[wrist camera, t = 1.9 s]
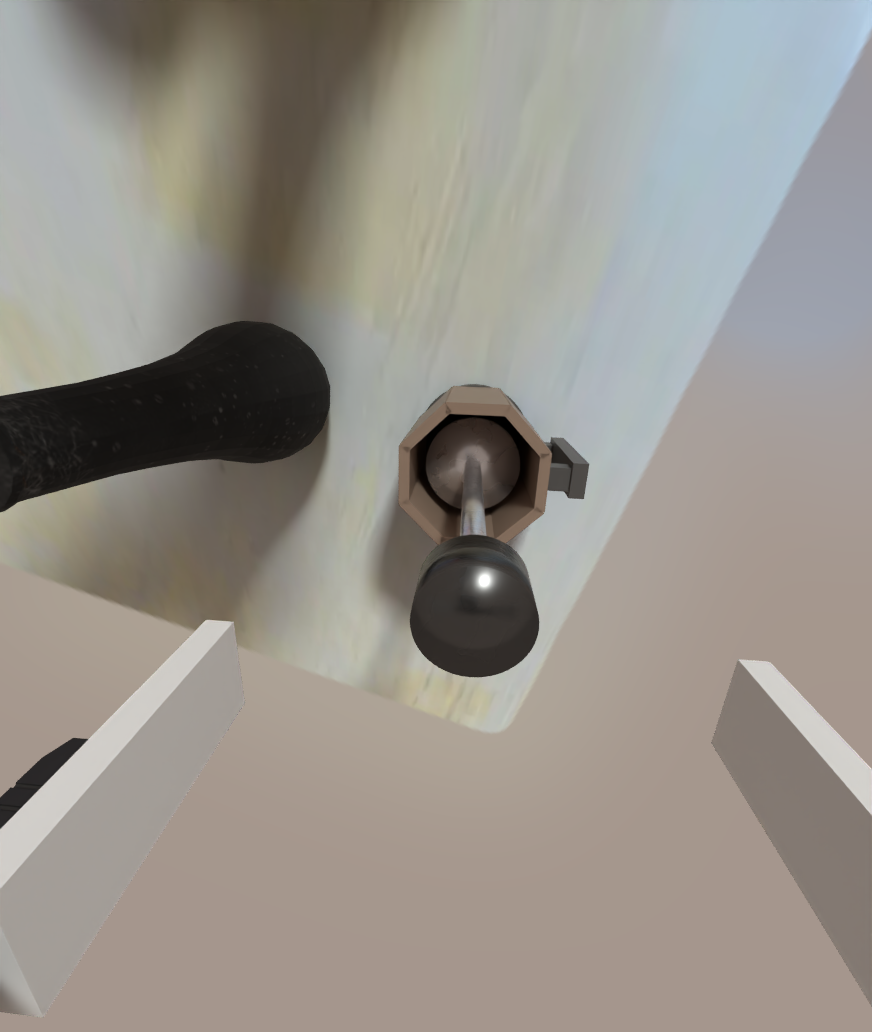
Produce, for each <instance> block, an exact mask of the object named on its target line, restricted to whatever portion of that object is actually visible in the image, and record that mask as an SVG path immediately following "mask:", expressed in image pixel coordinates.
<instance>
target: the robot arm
mask: <svg viewBox="0 0 872 1032" xmlns="http://www.w3.org/2000/svg"><path fill="white" fill-rule="evenodd" d="M244 704H245V701H244V693H243V686H242V679H241V671H240V664H239V657H238V650H237V642H236V635H235V627H234V622H230V621H217V620H205V621H204V622H203V623H202V624H201V625H200V627H199V628H198V629H197V630H196V631H195V632H194V633H193V634H192V635H191V636H190V637H189V638H188V639H187V640H186V641H185V642H184V643H183V644H182V645H181V646H180V647H179V648H178V649H177V650H176V651H175V652H174V653H173V654H172V655H171V656H170V657H169V658H168V659H167V660H166V661H165V662H164V663H163V664H162V665H161V666H160V667H159V668H158V669H157V670H156V671H155V672H154V673H153V674H152V675H151V676H150V677H149V678H148V680H146V682H144V683H143V685H142V686H141V687H140V688H139V689H138V690H137V691H136V692H135V693H134V694H133V695H132V696H131V697H130V698H129V699H128V700H127V701H126V702H125V703H124V704H123V705H122V706H121V707H120V708H119V709H118V710H117V711H116V712H115V713H114V714H113V715H112V716H111V717H110V718H109V719H108V720H107V721H106V722H105V723H104V724H103V725H102V726H101V727H100V728H99V729H98V730H97V731H96V732H95V734H93V736H92V737H91V738H90V739H80V738H72V739H71V740H69V741H68V742H66V743H65V744H63V745H61V746H60V747H58V748H57V749H55V750H54V751H52V752H50V753H49V754H47V755H46V756H44V757H43V758H41V759H40V760H39V761H38V762H37V763H36V764H35V765H34V766H33V767H32V768H31V769H30V770H29V771H28V772H27V773H26V774H24V775H23V776H22V777H21V778H20V779H19V780H18V781H17V782H16V785H15V787H14V788H10V789H9V790H8V791H7V792H6V793H5V794H3V795H2V796H1V797H0V1012H5V1013H13V1014H21V1015H28V1016H37V1017H44V1016H45V1014H46V1013H47V1011H48V1009H49V1008H50V1006H51V1005H52V1003H53V1002H54V1000H55V998H56V997H57V995H58V994H59V992H60V991H61V989H62V988H63V986H64V985H65V983H66V981H67V980H68V978H69V977H70V975H71V974H72V972H73V970H74V969H75V967H76V966H77V964H78V962H79V961H80V959H81V958H82V956H83V955H84V953H85V952H86V950H87V949H88V947H89V946H90V944H91V942H92V941H93V939H94V938H95V936H96V935H97V933H98V931H99V930H100V928H101V927H102V925H103V924H104V922H105V920H106V919H107V917H108V916H109V914H110V913H111V911H112V910H113V908H114V906H115V905H116V903H117V902H118V900H119V899H120V897H121V896H122V894H123V892H124V891H125V889H126V888H127V886H128V885H129V883H130V882H131V880H132V878H133V877H134V875H135V874H136V872H137V871H138V869H139V867H140V866H141V864H142V863H143V861H144V860H145V858H146V856H147V855H148V853H149V852H150V850H151V849H152V847H153V846H154V844H155V842H156V841H157V839H158V838H159V836H160V835H161V833H162V832H163V830H164V829H165V827H166V825H167V824H168V822H169V821H170V819H171V818H172V816H173V815H174V813H175V811H176V810H177V808H178V807H179V805H180V804H181V802H182V800H183V799H184V797H185V796H186V794H187V793H188V791H189V790H190V788H191V786H192V785H193V783H194V782H195V780H196V779H197V777H198V776H199V774H200V772H201V771H202V769H203V768H204V766H205V765H206V763H207V762H208V760H209V758H210V757H211V755H212V754H213V752H214V750H215V749H216V747H217V746H218V744H219V743H220V741H221V740H222V738H223V737H224V735H225V733H226V732H227V730H228V729H229V727H230V726H231V724H232V723H233V721H234V719H235V718H236V716H237V715H238V713H239V712H240V710H241V709H242V707H243V705H244ZM711 743H712V744H713V746H714V748H715V750H716V751H717V753H718V755H719V756H720V758H721V760H722V761H723V763H724V765H725V766H726V768H727V770H728V771H729V773H730V774H731V776H732V778H733V779H734V781H735V782H736V784H737V786H738V787H739V789H740V791H741V793H742V794H743V796H744V797H745V799H746V801H747V802H748V804H749V806H750V807H751V809H752V810H753V812H754V814H755V815H756V817H757V819H758V820H759V822H760V824H761V825H762V827H763V828H764V830H765V832H766V834H767V835H768V837H769V839H770V840H771V842H772V843H773V845H774V847H775V848H776V850H777V852H778V853H779V855H780V857H781V858H782V860H783V862H784V863H785V865H786V866H787V868H788V870H789V871H790V873H791V875H792V876H793V878H794V880H795V881H796V883H797V884H798V886H799V888H800V889H801V891H802V893H803V894H804V896H805V898H806V899H807V901H808V903H809V904H810V906H811V908H812V909H813V911H814V912H815V914H816V916H817V917H818V919H819V921H820V922H821V924H822V926H823V927H824V929H825V931H826V932H827V934H828V935H829V937H830V939H831V940H832V942H833V943H834V945H835V947H836V949H837V950H838V952H839V954H840V955H841V957H842V958H843V960H844V962H845V963H846V965H847V967H848V968H849V970H850V971H851V973H852V975H853V977H854V978H855V980H856V981H857V983H858V985H859V986H860V988H861V990H862V991H863V993H864V995H865V996H866V998H867V1000H868V1001H869V1003H870V1004H871V1006H872V769H871V768H870V767H869V766H868V765H867V764H866V763H865V762H864V760H862V758H861V757H860V756H859V755H858V754H857V753H856V752H855V751H854V750H853V749H852V748H851V747H850V746H849V745H848V744H847V743H846V742H845V741H844V740H843V738H842V737H841V736H840V735H839V734H838V733H837V732H836V731H835V730H834V729H833V728H832V727H831V726H830V725H829V724H828V723H827V722H826V721H825V720H824V718H822V716H821V715H819V713H818V712H817V711H816V710H815V709H814V708H813V707H812V706H811V705H810V704H809V703H808V702H807V701H806V700H805V699H804V698H803V696H802V695H801V694H800V693H799V692H798V691H797V690H796V689H795V688H794V687H793V686H792V685H791V684H790V683H789V682H788V681H787V680H786V679H785V678H784V677H783V675H782V674H781V673H780V672H779V671H778V670H777V669H776V668H775V667H774V666H773V665H772V664H771V663H770V662H764V661H751V660H739V659H738V662H737V665H736V668H735V671H734V674H733V677H732V680H731V683H730V686H729V689H728V692H727V696H726V699H725V702H724V705H723V708H722V712H721V714H720V717H719V721H718V724H717V727H716V730H715V733H714V736H713V739H712V742H711Z"/></svg>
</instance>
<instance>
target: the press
mask: <svg viewBox="0 0 872 1032" xmlns="http://www.w3.org/2000/svg"><path fill="white" fill-rule="evenodd" d="M467 417H481V418H485V419H489V420H491V421H494V422H496V423H497V424H499V425H500V426H502V427H503V428H504V429H505V430H506V431H507V432H508V433H509V434H510V435H511V437H512V438H513V440H514V442H515V444H516V446H517V449H518V452H519V456H520V472H519V476H518V479H517V482H516V484H515V486H514V488H513V489H512V491H511V492H510V493H509V494H508V496H506V497H505V498H504V499H503V500H502V501H500V502H499V503H497V504H496V505H494V506H491V507H489V508H486V509H484V511H485V524H486V536H489V537H492V538H495V539H498V540H500V541H502V542H504V543H507V542H508V541H509V540H511V539H512V538H513V537H514V536H516V535H517V534H518V533H520V532H521V531H522V530H523V529H525V528H526V527H527V526H529V525H530V524H531V523H532V522H534V521H535V520H536V519H538V518H539V517H540V516H541V515H543V514H544V513H543V512H545V505H546V497H547V490H549V491H564V492H565V493H566V495H567V497H568V498H574V499H584V494H585V487H586V481H587V475H588V468H589V463H588V462H587V461H586V460H585V459H584V458H583V457H582V456H581V455H580V454H579V453H578V452H577V451H576V450H575V449H574V448H573V447H572V446H571V445H570V444H569V443H568V442H567V441H566V440H565V439H564V438H552V437H551V443H547V442H543V440H542V439H541V438H540V436H539V435H538V434H537V432H536V431H535V430H534V428H533V427H532V426H531V424H530V423H529V422H528V421H527V419H526V418H525V417H524V416H523V414H522V412H521V410H520V409H519V408H518V406H517V405H516V404H515V403H514V402H513V401H512V400H511V398H509V397H508V396H507V395H506V394H504V393H503V391H502V390H501V389H499V388H492V387H489V386H485V385H478V384H468V385H462V386H453V387H451V388H450V389H449V390H448V391H446V392H445V393H443V394H442V395H440V396H439V397H438V398H437V399H435V401H434V402H433V403H432V404H431V405H430V406H429V408H428V409H427V411H426V412H425V413H424V414H423V415H422V416H421V417H420V418H419V419H418V420H417V422H416V423H415V424H414V426H413V427H412V428H411V430H410V431H409V433H408V434H407V435H406V437H405V438H404V439H403V441H402V442H401V443H400V445H399V503H398V504H399V506H400V507H401V508H402V509H403V510H404V511H405V512H406V513H407V514H408V515H409V516H410V517H411V518H412V519H413V520H414V521H415V522H416V523H417V524H418V525H419V526H420V527H421V528H422V529H423V530H424V531H425V532H426V533H427V534H428V535H429V536H430V537H431V538H432V539H433V540H434V541H435V542H436V543H437V544H438V545H440V544H442V543H443V542H445V541H447V540H449V539H452V538H455V537H458V536H460V529H461V512H462V509H460V508H456V507H454V506H452V505H450V504H448V503H446V502H445V501H444V500H442V499H441V498H440V497H439V496H438V495H437V494H436V492H435V491H434V490H433V488H432V487H431V484H430V482H429V480H428V477H427V472H426V457H427V453H428V450H429V447H430V445H431V443H432V441H433V439H434V438H435V436H436V435H437V434H438V432H439V431H440V430H441V429H443V428H444V427H445V426H446V425H448V424H450V423H451V422H453V421H456V420H458V419H462V418H467Z"/></svg>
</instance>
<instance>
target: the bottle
mask: <svg viewBox="0 0 872 1032" xmlns="http://www.w3.org/2000/svg"><path fill="white" fill-rule="evenodd" d="M329 408H330V385H329V381H328V378H327V374H326V371H325V368H324V367H323V365H322V364H321V362H320V360H319V359H318V357H317V356H316V354H315V353H314V351H313V350H312V349H311V348H310V347H309V346H308V345H306V344H305V343H304V342H303V341H302V340H301V339H300V338H298V337H297V336H296V335H295V334H293V333H291V332H289V331H287V330H285V329H283V328H280V327H278V326H276V325H274V324H271V323H261V322H250V321H240V322H234V323H230V324H226V325H222V326H219V327H215V328H213V329H210V330H208V331H206V332H204V333H203V334H201V335H200V336H198V337H197V338H195V339H194V340H193V341H191V342H190V343H189V344H187V345H186V346H185V347H183V348H182V349H181V350H180V351H178V352H177V353H175V354H173V355H170V356H168V357H165V358H163V359H160V360H158V361H156V362H153V363H151V364H148V365H144V366H141V367H137V368H134V369H130V370H126V371H123V372H119V373H116V374H112V375H107V376H103V377H99V378H95V379H91V380H87V381H83V382H79V383H74V384H68V385H62V386H56V387H50V388H45V389H39V390H33V391H27V392H21V393H16V394H10V395H4V396H0V512H3V511H5V510H7V509H9V508H10V507H12V506H13V505H14V504H16V503H17V502H19V501H23V500H27V499H30V498H34V497H38V496H41V495H45V494H48V493H52V492H56V491H59V490H63V489H67V488H70V487H74V486H77V485H81V484H85V483H88V482H92V481H96V480H99V479H103V478H106V477H110V476H114V475H117V474H122V473H127V472H132V471H137V470H142V469H146V468H152V467H157V466H163V465H169V464H174V463H180V462H186V461H194V460H208V459H221V460H226V461H235V462H244V463H265V462H269V461H274V460H278V459H283V458H286V457H289V456H291V455H293V454H295V453H296V452H298V451H299V450H301V449H303V448H304V447H306V446H307V445H309V444H310V443H311V442H312V441H313V439H314V438H315V437H316V436H317V434H318V433H319V432H320V430H321V429H322V427H323V425H324V423H325V420H326V417H327V414H328V411H329Z"/></svg>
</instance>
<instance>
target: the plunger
mask: <svg viewBox="0 0 872 1032" xmlns="http://www.w3.org/2000/svg"><path fill="white" fill-rule="evenodd" d="M426 472H427V477H428V480H429V482H430V484H431V487H432V488H433V490H434V491H435V492H436V494H437V495H438V496H439V497H440V498H441V499H442V500H444V501H445V502H446V503H448V504H450V505H452V506H454V507H456V508H460V509H462V512H461V529H460V536H458V537H455V538H452V539H449V540H447V541H445V542H443V543H442V544H440V545H439V546H437V547H436V548H435V549H434V550H433V551H432V552H431V553H430V554H429V555H428V557H427V558H426V560H425V561H424V563H423V565H422V568H421V571H420V575H419V579H418V584H417V588H416V592H415V597H414V601H413V605H412V610H411V616H410V628H411V632H412V636H413V639H414V641H415V643H416V645H417V647H418V648H419V650H420V651H421V653H422V654H423V655H424V656H425V657H426V658H427V659H428V660H429V661H430V662H432V663H433V664H434V665H436V666H437V667H439V668H441V669H443V670H445V671H447V672H450V673H453V674H456V675H460V676H466V677H486V676H492V675H496V674H499V673H502V672H504V671H507V670H509V669H510V668H512V667H514V666H515V665H517V664H518V663H519V662H521V661H522V660H523V659H524V658H525V657H526V656H527V655H528V653H529V652H530V651H531V649H532V647H533V646H534V644H535V641H536V639H537V635H538V631H539V615H538V611H537V607H536V603H535V599H534V595H533V591H532V587H531V583H530V579H529V575H528V571H527V568H526V566H525V564H524V562H523V560H522V559H521V557H520V556H519V555H518V554H517V552H516V551H514V550H513V549H512V548H511V547H510V546H508V545H507V544H506V543H504V542H502V541H500V540H498V539H495V538H492V537H489V536H486V524H485V511H484V509H486V508H489V507H491V506H494V505H496V504H497V503H499V502H500V501H502V500H503V499H504V498H505V497H506V496H508V494H509V493H510V492H511V491H512V489H513V488H514V486H515V484H516V482H517V479H518V476H519V472H520V456H519V452H518V449H517V446H516V444H515V442H514V440H513V438H512V437H511V435H510V434H509V433H508V432H507V431H506V430H505V429H504V428H503V427H502V426H500V425H499V424H497V423H496V422H494V421H491V420H489V419H485V418H481V417H467V418H462V419H458V420H456V421H453V422H451V423H450V424H448V425H446V426H445V427H444V428H443V429H441V430H440V431H439V432H438V434H437V435H436V436H435V438H434V439H433V441H432V443H431V445H430V447H429V450H428V453H427V457H426Z"/></svg>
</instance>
